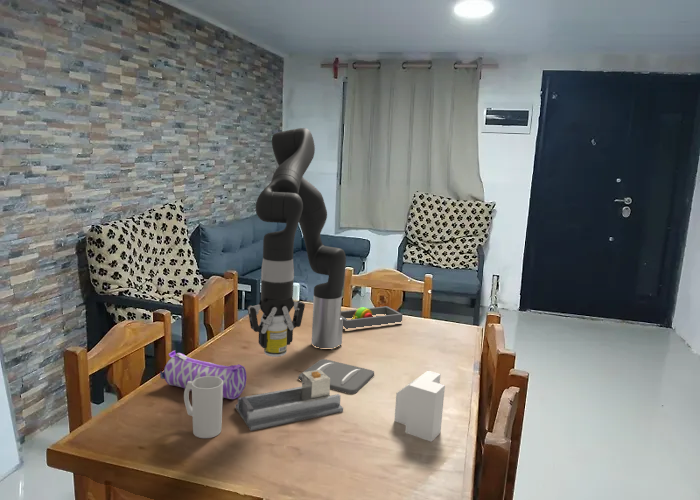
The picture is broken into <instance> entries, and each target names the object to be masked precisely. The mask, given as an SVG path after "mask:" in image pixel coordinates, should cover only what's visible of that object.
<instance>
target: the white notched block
mask: <svg viewBox="0 0 700 500" xmlns="http://www.w3.org/2000/svg"><path fill="white" fill-rule="evenodd" d="M440 382H441V373H438V372H435V371H430V370H427V371H425V372H424V373H422V374H420V376H418V377H416V378H415V379H414V380H412V381H410V382H409V383H408V384H407V385H405V386H403V387H402V388H401V389H400V390H398V392H396V395H395V406H394V407H395V409H394V422H396V423H398V424H402V425H405V434H407V435H408V434H409V435H411V436H414V437H416V438H419V439H422V440H425V441H428V442H433V441H434V440H435V439H436V438H437V436H438V437H439V435H440V433H441V432H442V421H443V420H442V419H443V412H444V411H443V410H444V399H445V391H446V390H445V388H446V385H445V384H442V383H440Z"/></svg>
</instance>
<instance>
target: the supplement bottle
mask: <svg viewBox="0 0 700 500" xmlns="http://www.w3.org/2000/svg"><path fill="white" fill-rule="evenodd" d="M284 319H285V318H284V315H280V316H274V317H273V319H272V321H271V324H270V325H269V326H268V328H267V331H266V333H267V347H266V348H263V351H264V354H265V355H266V356H268V357H272V358H274V357H276V358H278V357H283V356H285V355H286V354H287V351H288V348H287V347H288V345H287V324H286V323H285V322H284Z"/></svg>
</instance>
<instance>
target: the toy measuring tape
mask: <svg viewBox="0 0 700 500" xmlns="http://www.w3.org/2000/svg"><path fill="white" fill-rule="evenodd" d="M368 308H369V307H368ZM368 308H367V307H364V306H362V307H358V308H357V309H356V310H357V311H356V312H355V314H354V316H353V318H352V319H359V318H368V317H373V316H372V312H371V310H370V309H368ZM384 315H385V314H384Z"/></svg>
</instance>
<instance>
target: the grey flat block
mask: <svg viewBox="0 0 700 500" xmlns="http://www.w3.org/2000/svg"><path fill="white" fill-rule="evenodd" d="M314 370H321V371H322V372H323V373H324V374H326V375H327V376H328V377H329V378H330V390H333V389H334V391H337V390H338V392H342V393H345V392H346V393H345V394H348V393H349V395H353V394H354V393H355V394H357V392H359V391H360V390H361V389H362V388H363V387H364V386H366V385H367V384H368V383H369V382H368V381H369V380H370V379H371V378H372V377H373V376H374V377H375V371H374V370H372V369H368V368H365V367H359V366H356V365H352V364H347V363H342V362H339V361H335V360H334V361H333V360H331V359H325V358H322V359H319V360H318V361H316V362H315V363H314V364H312V365H310V366H309V367H308V368H307V369H305V370H304V371H303V372H308V371H314ZM374 377H373V378H374ZM373 378H372V379H373ZM298 379H300V380H301V381H300V380H299V381H300V382H302V372H301V373H299V374H298V376H297V380H298ZM372 379H371V380H372ZM371 380H370V381H371Z"/></svg>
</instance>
